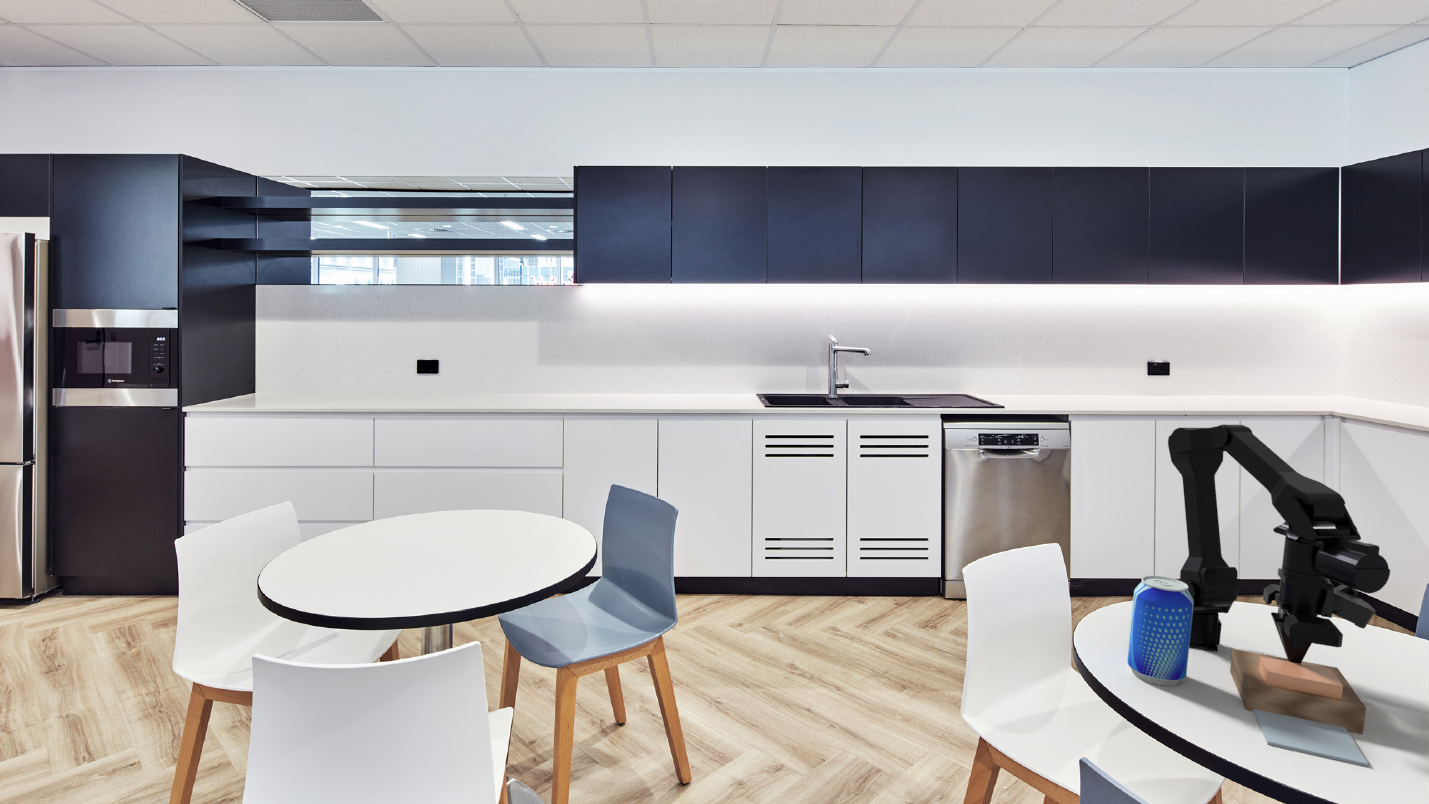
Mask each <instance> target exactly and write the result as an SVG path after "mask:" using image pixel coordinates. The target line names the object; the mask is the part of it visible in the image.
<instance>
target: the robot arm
mask: <svg viewBox="0 0 1429 804" xmlns="http://www.w3.org/2000/svg"><path fill="white" fill-rule="evenodd" d="M1171 432H1172V433H1171V434H1170V435H1169V436H1168V438H1167V447H1168V452H1169V455H1170V460H1171V463H1172V464H1173V466H1174V467H1175V468H1176V470H1177V472H1178V473H1179V474H1180V475H1181V477H1182V486H1183V488H1182V489H1183V500H1184V511H1185V512H1184V514H1185V525H1186V537H1187V546H1188V547H1187V548H1188V556H1187V558H1186V560H1185V562H1184V564H1183V565H1182V567H1181V569H1180V572H1179V573H1180V574H1179V581H1182V582H1184V583H1185V584H1187V585H1188V591H1189V593H1190V595H1191V597H1192V598H1193V601H1194V605H1193V615H1192V624H1191V634H1190V644H1189V647H1192V648H1197V649H1202V650H1209V651H1212V652H1217V651H1218V646H1219V645H1220V641H1221V635H1222V634H1221V633H1222V625H1223V623H1222V621H1221V619H1220V618H1219V617H1220V615H1219V614H1223V613H1224V614H1228V613H1230V609H1231V607H1232V605H1233V603H1235V601H1237V599H1238V592H1240V590H1241V589H1240V586H1239V582H1238V581H1239V580H1238V572H1239V571H1238V569H1237V568H1236V567H1235V566H1229V564H1228V563H1227V562H1226V560H1225V558H1223V555H1222V547H1221V546H1222V545H1221V533H1220V532H1221V531H1220V524H1219V512H1218V510H1219V509H1218V503H1217V502H1218V501H1217V500H1218V499H1217V490H1216V489H1217V488H1216V477H1215V476H1216V474H1217V472H1218V470H1219V469H1220V468H1221V467H1220V466H1221V465H1222V463H1223V462H1224V452H1226V453H1227V454H1228V455H1230V457H1231V458H1233V459H1234V461H1236V462H1237V464H1239V465H1240V466H1241V467H1243V469H1244V470H1245V471H1246V472H1247V473H1249V475H1251V476H1252V477H1253V478H1254V479H1255V480H1256V481H1257V482H1258V483H1259V484H1260V485H1261V486H1262V487H1264V488H1265V489H1266V490H1267V491H1268V493H1269V494H1270V497H1271V498H1270V499H1271V504H1272V506H1273V508H1274V510H1276V511H1277V513H1278V514H1279V515H1280V517H1281V518H1282V519H1283V520H1284V522H1283V523H1281V524H1280V525H1277V526H1276V527H1273V530H1272V531H1273V532H1274V533H1276V534H1279V535H1282V536H1285V537H1284V547H1283V554H1282V564H1281V568H1277V575H1278V577H1279V578H1280V582H1279V584H1273V583H1270V584H1269V585H1267V586H1265V587H1264V588H1263V594H1262V595H1263V597H1262V600H1263V601H1264V602H1265V604H1266V605H1272V603H1273V601H1275V604H1276V606H1277V607H1278V608H1277V612H1273V611H1272V612H1270V615H1271V618H1272V621H1273V623H1274V625H1275V628H1276V631H1277V634H1278V636H1279V639H1280V642H1281V644H1282V648H1283V651H1284V653H1285V656H1286V659H1288V661H1289V662H1294V663H1300V664H1301V662H1302V661H1303V660H1304V659H1305V657H1306V654H1307V653H1308V651H1309V649H1310V647H1311V645H1312V644H1315V645H1322V646H1327V647H1331V648H1332V647H1333V648H1342V646H1343V645H1342V644H1343V637H1344V634H1343V633H1342V632H1341V629H1340V628H1338V626H1337V625H1336V624H1335V623H1333V621H1331V618H1333V615H1334V616H1336V617H1339V618H1340V619H1343V620H1345V621H1348V622H1349V623H1350V622H1351V623H1352V624H1354V626H1355V627H1358V628H1361V629H1366V627H1367V626H1368V624H1369V622H1371V620H1372V619H1373V616H1374V615H1375V613H1376V609H1374V608H1373V607H1372V606H1371V605H1370V604H1369V603H1368V602H1366V601H1364V599H1363V598H1358V597H1359V596H1358V592H1362V593H1364V594H1375V593H1377V592H1378V591H1381V590H1382V589H1383V588H1384V587H1385V586H1386V584H1387V583H1388V581H1389V578H1390V576H1391V568H1389V564H1388V561H1387V560H1386V559H1385V558H1384V556H1383V555H1380V546H1379V545H1377V544H1373V543H1367V542H1366V543H1365V542H1362V541H1361V538H1362V536H1361V534H1360V533H1359V531H1358V528H1357V526H1356V524H1355V523H1354V521H1353V519H1352V517H1351V515H1350V513H1349V510H1348V509H1347V506H1346V501H1345V499H1344V497H1343V496H1342V495H1341V494H1340V493H1339V492H1337V491H1336V490H1334V489H1333V488H1331V487H1329V486H1327V485H1326V484H1324V483H1322V482H1321V481H1318V480H1315V479H1312V478H1310V477H1307V476H1304V475H1302V474H1301V473H1299V472H1297V470H1295V469H1294V468H1293V467H1292V466H1290V464H1288V463H1287V462H1286V461H1285V460H1284V459H1283V458H1281V457H1280V456H1279V455H1278V454H1277V453H1276V452H1274V451H1273V450H1272V449H1271V448H1270V447H1268V446H1267V445H1266V443H1264V441H1261V440H1260V438H1258V437H1257V436H1256V435H1255V434H1253V431H1252V429H1251V428H1250V427H1249V426H1245V424H1220V425H1217V426H1212V427H1177V428H1175V429H1174V430H1173V431H1171ZM1329 527H1330V528H1329ZM1331 527H1335V528H1331ZM1331 581H1333V582H1335V583H1338V584H1340V585H1337V586H1335V585H1334V584H1333V583H1332V582H1331ZM1320 616H1321V617H1320Z"/></svg>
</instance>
